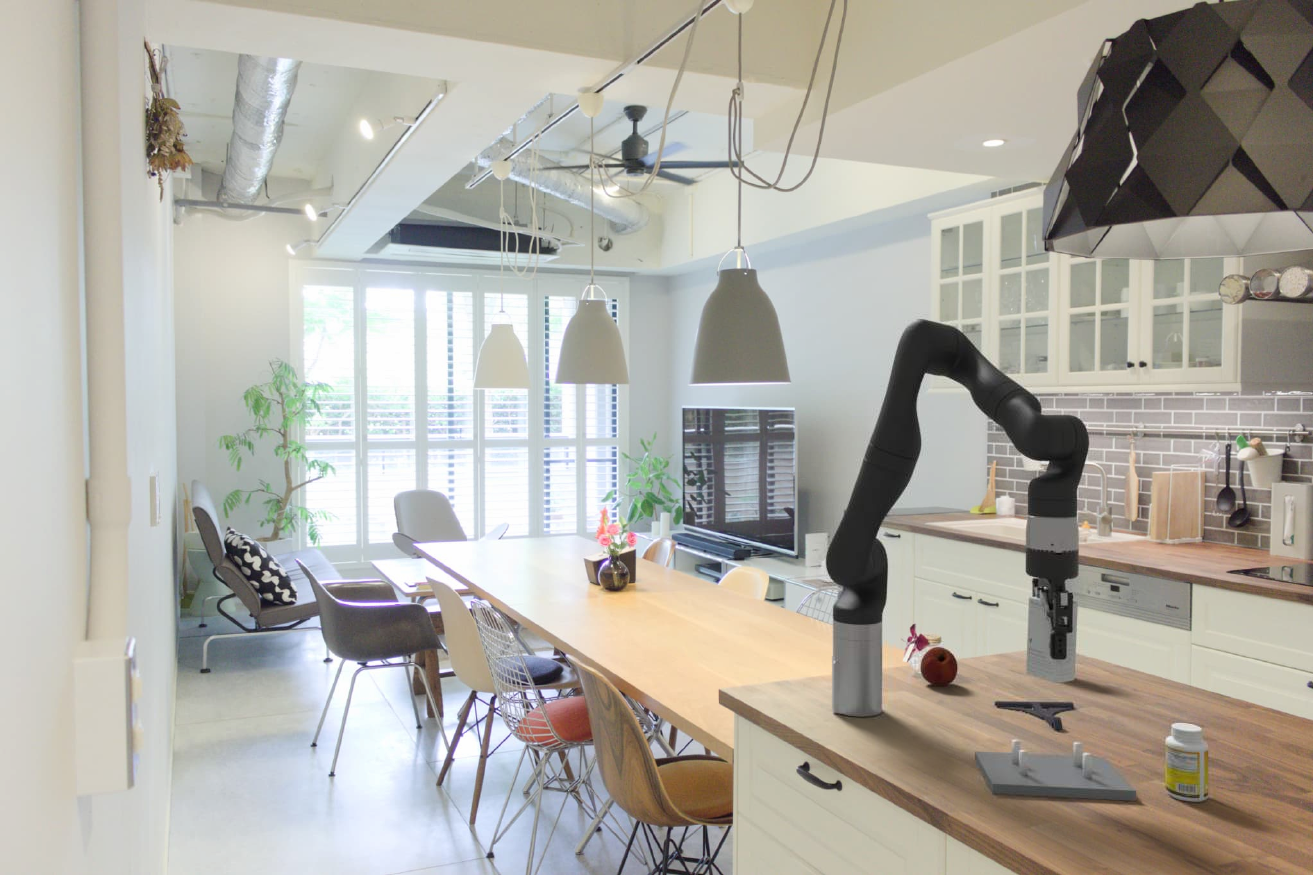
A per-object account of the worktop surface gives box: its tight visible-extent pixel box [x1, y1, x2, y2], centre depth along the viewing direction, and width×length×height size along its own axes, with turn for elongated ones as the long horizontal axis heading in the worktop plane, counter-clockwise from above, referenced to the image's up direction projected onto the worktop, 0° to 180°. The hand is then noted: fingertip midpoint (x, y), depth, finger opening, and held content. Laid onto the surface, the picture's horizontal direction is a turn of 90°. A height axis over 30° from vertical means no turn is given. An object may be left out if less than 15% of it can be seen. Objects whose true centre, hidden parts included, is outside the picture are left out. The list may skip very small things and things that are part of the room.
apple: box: [919, 646, 959, 687], centre depth 201 cm, size 7×8×8 cm
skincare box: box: [1025, 596, 1079, 684], centre depth 148 cm, size 6×4×12 cm
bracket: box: [994, 700, 1075, 732], centre depth 179 cm, size 14×15×3 cm
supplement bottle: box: [1164, 722, 1209, 803], centre depth 142 cm, size 6×6×10 cm
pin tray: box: [974, 738, 1137, 802], centre depth 148 cm, size 20×14×5 cm
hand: (1051, 652), depth 148 cm, fingers closed on skincare box, 7 cm apart
